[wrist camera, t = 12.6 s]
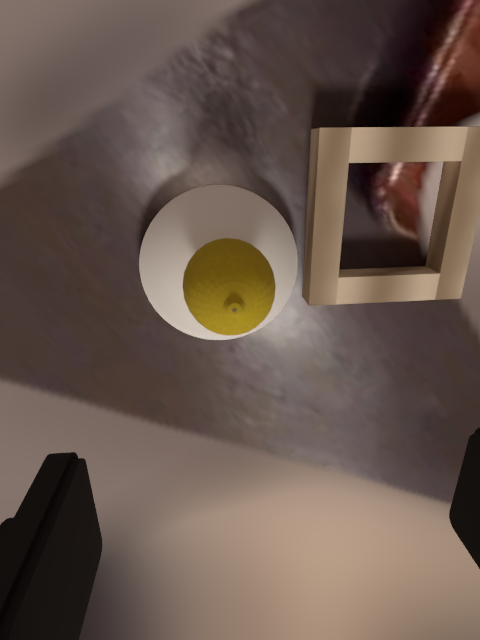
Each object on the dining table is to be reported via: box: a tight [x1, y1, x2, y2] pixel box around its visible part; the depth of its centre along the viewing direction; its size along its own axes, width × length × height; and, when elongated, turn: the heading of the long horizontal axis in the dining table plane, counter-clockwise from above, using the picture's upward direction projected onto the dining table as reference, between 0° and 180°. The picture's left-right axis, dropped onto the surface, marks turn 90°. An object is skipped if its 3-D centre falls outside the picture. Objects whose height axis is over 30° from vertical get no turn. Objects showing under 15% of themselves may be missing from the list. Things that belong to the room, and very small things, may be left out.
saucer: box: [139, 184, 298, 340], centre depth 28 cm, size 11×11×1 cm
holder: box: [302, 127, 480, 306], centre depth 28 cm, size 12×12×2 cm
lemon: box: [183, 238, 276, 336], centre depth 24 cm, size 6×6×8 cm
